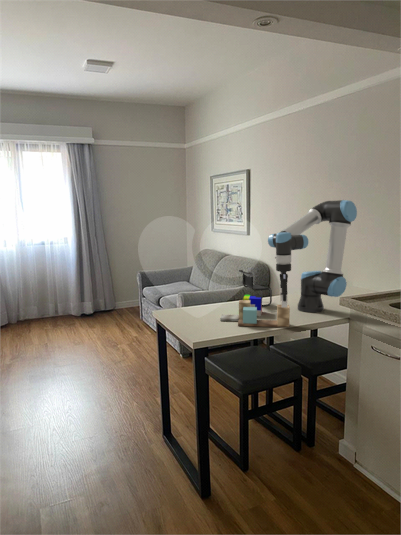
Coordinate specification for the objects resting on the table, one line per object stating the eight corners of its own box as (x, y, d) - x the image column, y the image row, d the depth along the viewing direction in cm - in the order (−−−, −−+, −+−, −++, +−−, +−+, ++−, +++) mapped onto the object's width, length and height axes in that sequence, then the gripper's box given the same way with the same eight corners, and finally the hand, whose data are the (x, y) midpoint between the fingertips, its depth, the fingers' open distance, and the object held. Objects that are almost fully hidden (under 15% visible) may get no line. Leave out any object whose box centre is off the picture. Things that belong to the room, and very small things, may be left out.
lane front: (288, 322, 210) (288, 304, 209) (289, 327, 203) (289, 308, 201) (238, 321, 214) (238, 303, 213) (238, 325, 207) (237, 306, 205)
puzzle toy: (260, 316, 226) (261, 298, 225) (243, 315, 228) (243, 298, 227) (261, 311, 236) (261, 295, 234) (244, 311, 238) (244, 294, 236)
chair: (237, 303, 256) (237, 269, 253) (261, 301, 262) (262, 268, 259) (247, 308, 244) (247, 272, 241) (272, 305, 250) (272, 270, 247)
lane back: (250, 317, 222) (250, 299, 221) (249, 321, 214) (250, 303, 213) (221, 316, 225) (221, 299, 223) (220, 320, 217) (220, 302, 215)
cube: (256, 320, 212) (256, 307, 211) (256, 323, 205) (256, 310, 204) (243, 319, 213) (243, 306, 212) (242, 323, 206) (242, 310, 205)
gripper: (275, 259, 215) (275, 298, 218) (276, 267, 191) (277, 310, 194) (289, 259, 214) (289, 298, 217) (293, 266, 190) (293, 310, 193)
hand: (283, 303), depth 206 cm, fingers open, 13 cm apart
